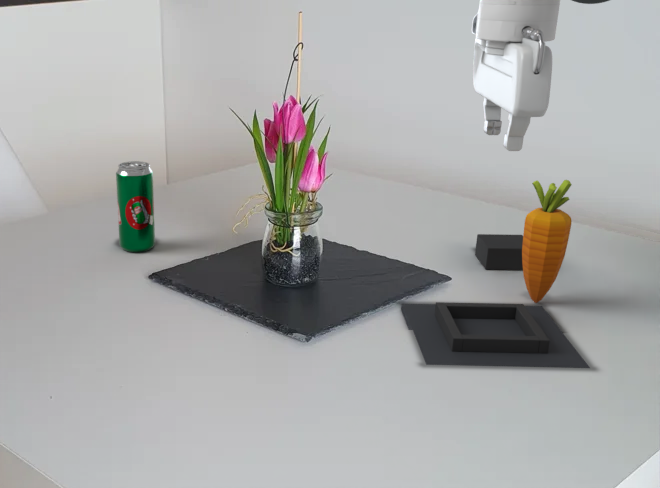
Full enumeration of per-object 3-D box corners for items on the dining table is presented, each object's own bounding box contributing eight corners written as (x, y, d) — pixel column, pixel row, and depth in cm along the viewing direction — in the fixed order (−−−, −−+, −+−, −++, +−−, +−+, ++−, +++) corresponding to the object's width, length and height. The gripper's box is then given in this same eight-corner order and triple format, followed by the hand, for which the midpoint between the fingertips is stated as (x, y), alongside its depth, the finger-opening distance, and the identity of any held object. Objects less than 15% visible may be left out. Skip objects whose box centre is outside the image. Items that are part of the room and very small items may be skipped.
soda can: (129, 240, 122) (125, 159, 118) (160, 244, 120) (158, 162, 116) (113, 251, 118) (109, 167, 113) (146, 255, 116) (143, 170, 112)
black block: (519, 255, 115) (522, 234, 114) (531, 270, 109) (535, 248, 108) (474, 254, 115) (477, 234, 114) (485, 269, 110) (488, 248, 109)
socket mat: (540, 312, 97) (543, 293, 96) (590, 376, 82) (594, 354, 81) (400, 309, 98) (402, 291, 97) (424, 372, 83) (426, 351, 82)
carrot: (504, 299, 100) (521, 176, 95) (534, 292, 102) (552, 171, 97) (536, 313, 96) (556, 186, 90) (567, 305, 98) (588, 180, 93)
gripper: (574, 31, 88) (555, 160, 93) (519, 18, 107) (505, 126, 112) (513, 31, 88) (497, 160, 94) (469, 18, 107) (457, 126, 113)
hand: (501, 141), depth 103 cm, fingers open, 8 cm apart
